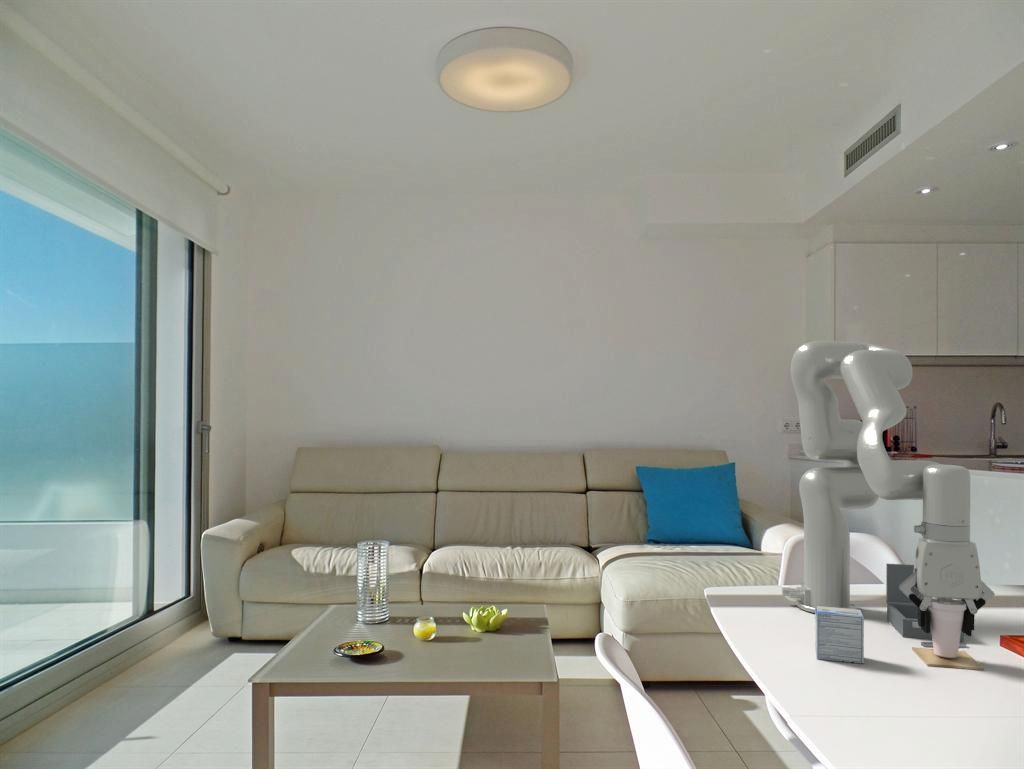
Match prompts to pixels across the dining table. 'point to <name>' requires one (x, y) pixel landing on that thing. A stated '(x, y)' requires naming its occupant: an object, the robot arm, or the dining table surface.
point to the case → (903, 603)
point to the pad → (947, 659)
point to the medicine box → (839, 634)
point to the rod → (930, 644)
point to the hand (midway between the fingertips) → (945, 631)
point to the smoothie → (946, 625)
